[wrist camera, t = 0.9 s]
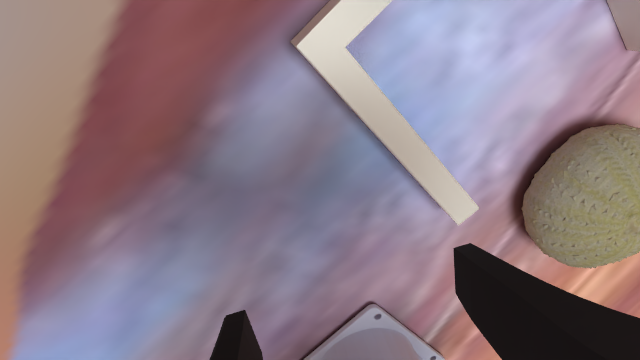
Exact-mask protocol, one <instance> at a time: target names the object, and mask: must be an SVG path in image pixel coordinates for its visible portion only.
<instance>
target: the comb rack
mask: <svg viewBox="0 0 640 360" xmlns="http://www.w3.org/2000/svg"><path fill="white" fill-rule="evenodd" d="M391 1H392V0H330V1H329V2H328V3H327V4H326V5H325V6H324V7H323V8H322V9H321V10H320V11H319V12H318V13H317V14H316V15H315V16H314V17H313V19H312V20H311V21H310V22H309V23H308V24H307V25H306V26H305V27H304V28H303V29H302V30H301V31H300V32H299V33H298V34H297V35H296V36H295V37H294V38H293V39H292V40H291V41H290V42H291V43H292V44H293V45H294V47H295V48H296V49H297V50H298V51H299V52H300V53H301V54H302V55H303V56H304V58H305V59H306V60H307V61H308V62H309V63H310V64H311V65H312V66H313V67H314V69H315V70H316V71H317V72H318V73H319V74H320V75H321V76H322V77H323V78H324V80H325V81H326V82H327V83H328V84H329V85H330V86H331V87H332V88H333V89H334V91H335V92H336V93H337V94H338V95H339V96H340V97H341V98H342V99H343V100H344V101H345V103H346V104H347V105H348V106H349V107H350V108H351V109H352V110H353V111H354V112H355V114H356V115H357V116H358V117H359V118H360V119H361V120H362V121H363V122H364V123H365V125H366V126H367V127H368V128H369V129H370V130H371V131H372V132H373V133H374V134H375V136H376V137H377V138H378V139H379V140H380V141H381V142H382V143H383V144H384V145H385V147H386V148H387V149H388V150H389V151H390V152H391V153H392V154H393V155H394V156H395V158H396V159H397V160H398V161H399V162H400V163H401V164H402V165H403V166H404V167H405V169H406V170H407V171H408V172H409V173H410V174H411V175H412V176H413V177H414V178H415V180H416V181H417V182H418V183H419V184H420V185H421V186H422V187H423V188H424V189H425V190H426V192H427V193H428V194H429V195H430V196H431V197H432V198H433V199H434V200H435V201H436V203H437V204H438V205H439V206H440V207H441V208H442V209H443V210H444V211H445V212H446V213H447V214H448V215H449V216H450V217H451V218H452V219H453V220H454V221H455V222H456V223H457V224H458V225H460V224H461V223H462V222H464V221H465V220H466V219H467V218H468V217H469V216H471V215H472V214H473V213H474V212H475V211H477V210H478V209H479V207H478V206H477V205H476V204H475V202H474V201H473V200H472V199H471V198H470V196H469V195H468V194H467V193H466V192H465V190H464V189H463V188H462V187H461V186H460V184H459V183H458V182H457V181H456V180H455V178H454V177H453V176H452V175H451V174H450V172H449V171H448V170H447V169H446V168H445V166H444V165H443V164H442V163H441V162H440V160H439V159H438V158H437V157H436V156H435V154H434V153H433V152H432V151H431V150H430V148H429V147H428V146H427V145H426V144H425V142H424V141H423V140H422V139H421V138H420V136H419V135H418V134H417V133H416V132H415V131H414V129H413V128H412V127H411V126H410V125H409V123H408V122H407V121H406V120H405V119H404V117H403V116H402V115H401V114H400V113H399V111H398V110H397V109H396V108H395V107H394V105H393V104H392V103H391V102H390V101H389V99H388V98H387V97H386V96H385V95H384V93H383V92H382V91H381V90H380V89H379V87H378V86H377V85H376V84H375V83H374V81H373V80H372V79H371V78H370V77H369V75H368V74H367V73H366V72H365V71H364V69H363V68H362V67H361V66H360V65H359V63H358V62H357V61H356V60H355V59H354V57H353V56H352V55H351V54H350V53H349V51H348V50H347V49H346V48H345V47H346V46H347V45H348V44H349V43H350V42H351V41H352V40H353V39H354V38H355V37H356V36H357V35H358V34H359V33H360V32H361V31H362V30H363V29H364V28H365V27H366V26H367V25H368V24H369V23H370V22H371V21H372V20H373V19H374V18H375V17H376V16H377V15H378V14H379V13H380V12H381V11H382V10H383V9H384V8H385V7H386V6H387V5H388V4H389V3H390V2H391ZM607 3H608V5H609V8H610V10H611V12H612V15H613V17H614V20H615V22H616V25H617V27H618V29H619V32H620V34H621V37H622V39H623V42H624V44H625V47H626V49H627V50H630V51H638V52H640V0H607Z"/></svg>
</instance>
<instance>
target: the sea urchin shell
mask: <svg viewBox="0 0 640 360" xmlns="http://www.w3.org/2000/svg"><path fill="white" fill-rule="evenodd" d="M521 209H522V211H523V217H524V221H525V224H524V225H525V227H526V231H527V232H528V234H529V236H530V237H531V238H532V240H534V242H535V244H536V245H537V246H538V247H539V248H540V249H541V251H542V252H543V253H544V254H547V255H548V256H549V257H553V258H554V259H556V260H557V261H558V262H560V263H563V264H566V265H568V266H571V267H582V268H592V267H593V268H596V267H597V266H603V265H607V264H608V263H614V262H616V261H619V262H620V261H621V260H622V259H624V258H627V257H629V256H632V255H634V254H637V253H639V251H640V128H635V127H631V126H627V125H625V124H623V125H619V124H618V123H617V124H615V125H604V126H599V127H591V128H587V129H585V130H582V131H581V132H580V133H577V134H576V135H572V136H571V137H569V139H568V141H566V142H565V143H564V144H563V145H562V146H561V147H560V148H558V149H557V150H556V151H555V152H554V153H551V156H550V158H549V159H548V160H547V162H546V163H545V164H544V165H543V166H542V167H541V168H540V170H539V171H538V172H537V173H535V175H534V178H533V179H532V180H531V185H530V186H529V188H528V189H527V191H526V192H525V194H524V199H523V207H522V208H521Z"/></svg>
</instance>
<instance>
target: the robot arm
mask: <svg viewBox="0 0 640 360" xmlns="http://www.w3.org/2000/svg"><path fill="white" fill-rule="evenodd" d="M454 268H455V290H456V295H457V296H458V298H459V300H460V302H461V303H462V305H463V307H464V308H465V310H466V312H467V313H468V315H469V317H470V318H471V320H472V321H473V322H474V324H475V325H476V326H477V328H478V329H479V330H480V332H481V333H482V334H483V336H484V337H485V338H486V340H487V341H488V342H489V343H490V345H491V346H492V347H493V349H494V350H495V351H496V352H497V354H498V355H499V356H500V358H501V359H502V360H640V318H637V317H634V316H631V315H628V314H625V313H622V312H619V311H616V310H613V309H610V308H607V307H604V306H602V305H599V304H596V303H594V302H591V301H589V300H586V299H583V298H581V297H578V296H576V295H573V294H571V293H569V292H566V291H564V290H562V289H560V288H558V287H555V286H553V285H551V284H549V283H546V282H544V281H542V280H540V279H538V278H536V277H534V276H532V275H530V274H528V273H526V272H524V271H522V270H520V269H518V268H516V267H514V266H512V265H510V264H509V263H507V262H505V261H503V260H501V259H499V258H497V257H495V256H494V255H492V254H490V253H488V252H486V251H484V250H483V249H481V248H479V247H477V246H475V245H473V244H471V243H469V244H466V245H462V246H459V247H456V248H454ZM376 314H378V315H376ZM210 360H263V357H262V352H261V349H260V347H259V344H258V342H257V339H256V336H255V334H254V331H253V329H252V326H251V324H250V321H249V319H248V316H247V314H246V311H245V310H243V311H240V312H236V313H233V314H229V315H226V317H225V318H224V321H223V324H222V327H221V330H220V333H219V336H218V339H217V341H216V344H215V347H214V350H213V352H212V355H211V357H210ZM304 360H445V358H444V357H443V356H442V355H441V354H440V353H438V352H437V351H436V350H434V349H433V348H432V347H431V346H429V345H428V344H427V343H425V342H424V341H423V340H422V339H420V338H419V337H418V336H416V335H415V334H414V333H413V332H411V331H410V330H409V329H407V328H406V327H405V326H404V325H402V324H401V323H400V322H398V321H397V320H396V319H394V318H393V317H392V316H391V315H389V314H388V313H387V312H385V311H384V310H383V309H382V308H380V307H379V306H378V305H376V304H371V305H368V306H367V307H366V308H365V309H363V310H362V311H361V312H360V313H359V314H357V315H356V316H355V317H354V318H353V319H351V320H350V321H349V322H348V323H347V324H346V325H344V326H343V327H342V328H341V329H340V330H338V331H337V332H336V333H335V334H334V335H332V336H331V337H330V338H329V339H328V340H326V341H325V342H324V343H323V344H322V345H320V346H319V347H318V348H317V349H316V350H314V351H313V352H312V353H311V354H310V355H308V356H307V357H306V358H305V359H304Z"/></svg>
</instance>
